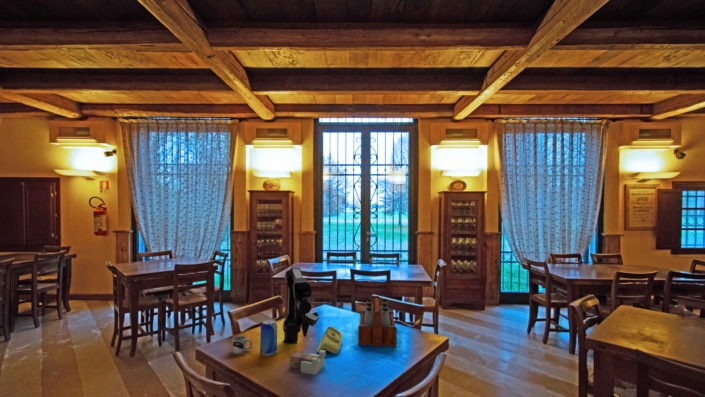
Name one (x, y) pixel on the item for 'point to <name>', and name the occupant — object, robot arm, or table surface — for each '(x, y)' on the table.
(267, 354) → the beer can
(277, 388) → the table surface
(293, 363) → the rail
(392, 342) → the milk bottle holder
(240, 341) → the mug
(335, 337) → the plastic component
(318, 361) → the posts
